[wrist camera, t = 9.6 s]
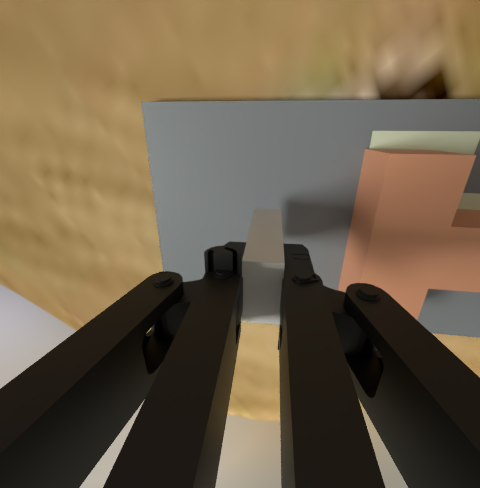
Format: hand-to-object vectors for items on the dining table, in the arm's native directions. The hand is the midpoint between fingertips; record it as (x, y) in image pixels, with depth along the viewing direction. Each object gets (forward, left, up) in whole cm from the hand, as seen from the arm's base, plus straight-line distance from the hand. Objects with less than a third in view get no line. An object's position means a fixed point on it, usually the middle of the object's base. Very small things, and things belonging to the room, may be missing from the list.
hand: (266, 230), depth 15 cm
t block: (+10, 0, -2) cm, 10 cm away
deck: (+5, 0, -3) cm, 6 cm away
